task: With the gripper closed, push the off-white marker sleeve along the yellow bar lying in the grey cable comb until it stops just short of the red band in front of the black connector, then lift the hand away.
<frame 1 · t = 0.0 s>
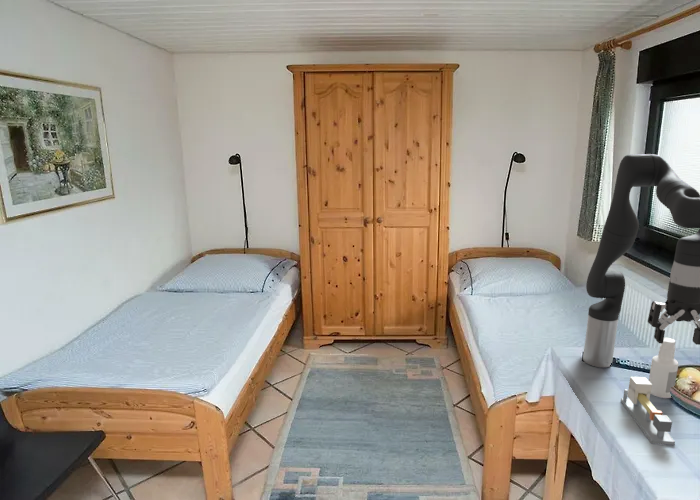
hand: (677, 342, 121), 29 cm above the table, tool pointing down, fingers open, 8 cm apart
white bottle: (659, 393, 152), on the table
sleeve: (639, 390, 142), point 6 cm above the table, slide at 0.0 cm
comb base: (645, 421, 138), on the table
yellow bar: (649, 407, 136), point 5 cm above the table
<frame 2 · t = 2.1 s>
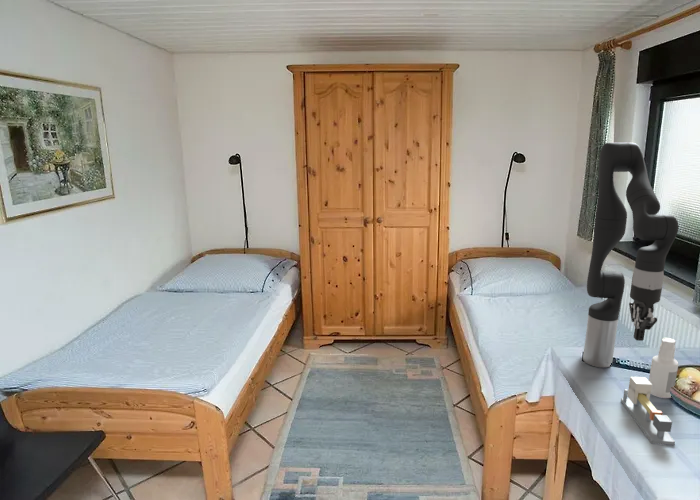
hand: (638, 339, 143), 20 cm above the table, tool pointing down, fingers closed
nothing on the table moved.
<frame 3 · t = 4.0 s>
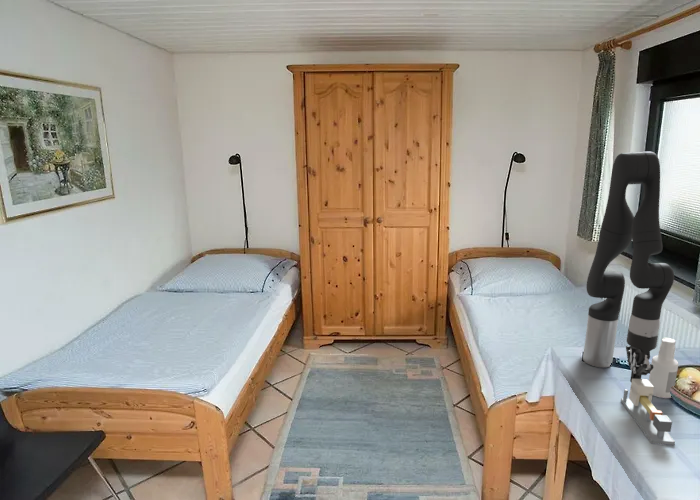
hand: (635, 383, 145), 7 cm above the table, tool pointing down, fingers closed
sleeve: (641, 392, 141), point 6 cm above the table, slide at 1.1 cm, touching gripper
everything else where it was.
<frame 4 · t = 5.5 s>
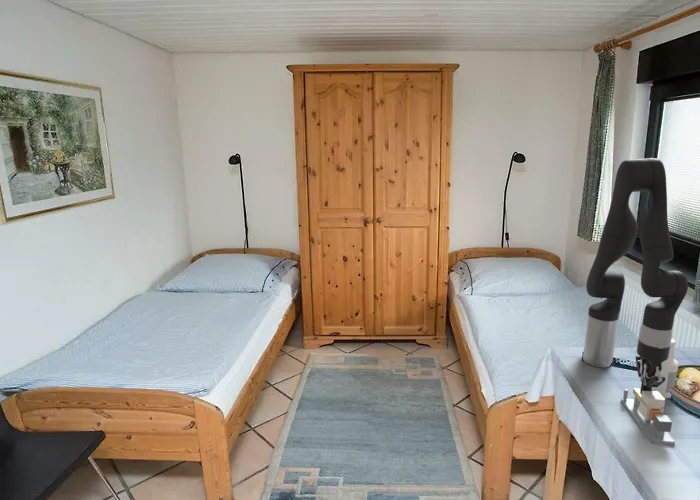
hand: (645, 395, 139), 7 cm above the table, tool pointing down, fingers closed
sleeve: (651, 405, 135), point 6 cm above the table, slide at 7.7 cm, touching gripper
everything else where it was.
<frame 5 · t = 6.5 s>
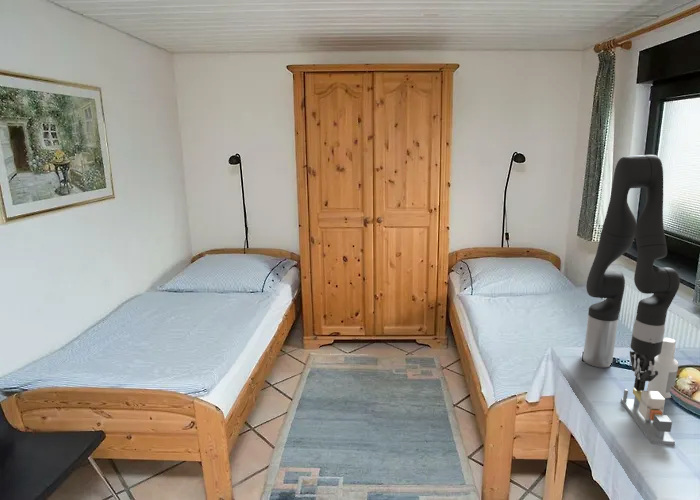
hand: (638, 389, 143), 6 cm above the table, tool pointing down, fingers closed
sleeve: (651, 405, 135), point 6 cm above the table, slide at 7.7 cm
everything else where it was.
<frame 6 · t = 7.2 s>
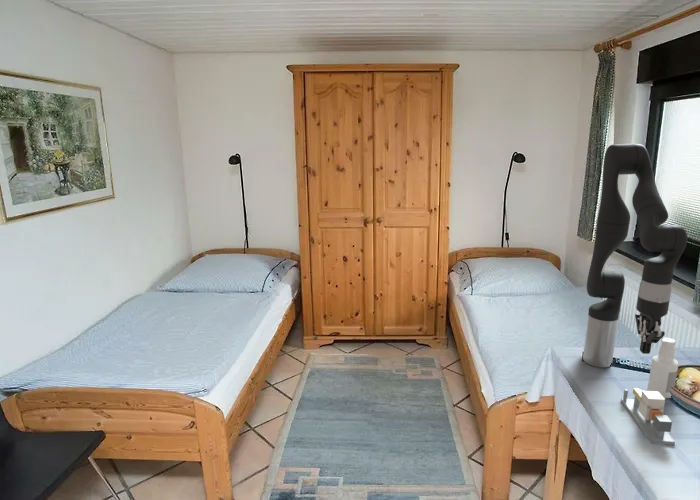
hand: (644, 352, 140), 18 cm above the table, tool pointing down, fingers closed
nothing on the table moved.
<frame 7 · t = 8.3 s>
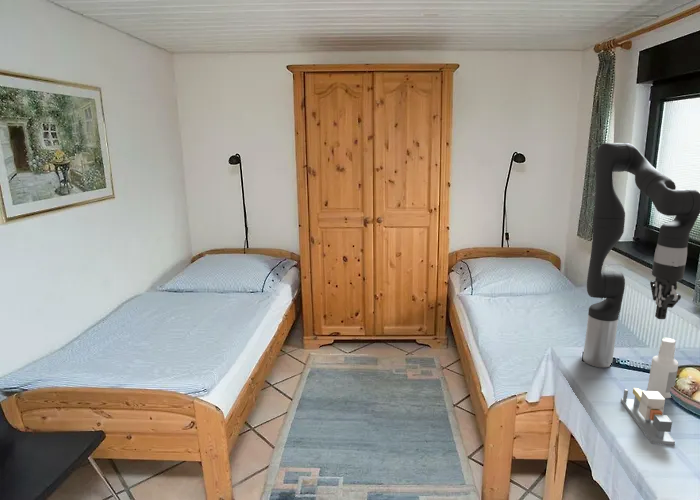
hand: (660, 318, 141), 27 cm above the table, tool pointing down, fingers closed
nothing on the table moved.
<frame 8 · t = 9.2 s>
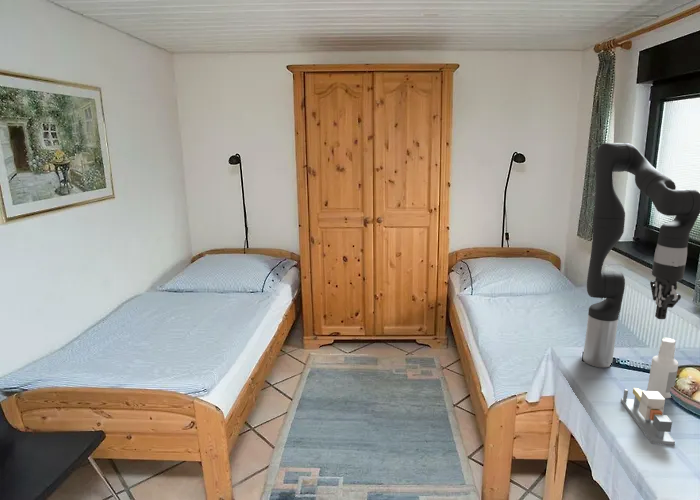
hand: (660, 318, 141), 27 cm above the table, tool pointing down, fingers closed
nothing on the table moved.
at the end: sleeve slide at 7.7 cm; the gripper is holding nothing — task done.
